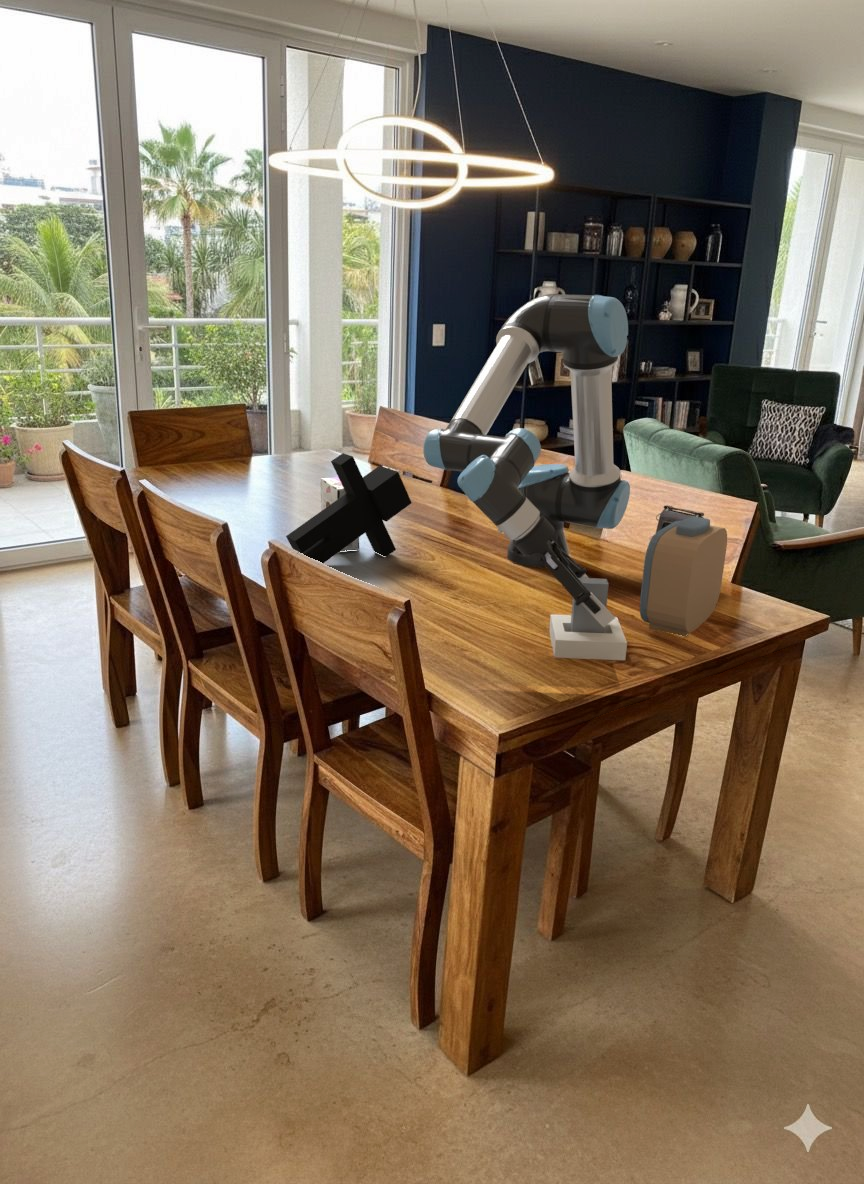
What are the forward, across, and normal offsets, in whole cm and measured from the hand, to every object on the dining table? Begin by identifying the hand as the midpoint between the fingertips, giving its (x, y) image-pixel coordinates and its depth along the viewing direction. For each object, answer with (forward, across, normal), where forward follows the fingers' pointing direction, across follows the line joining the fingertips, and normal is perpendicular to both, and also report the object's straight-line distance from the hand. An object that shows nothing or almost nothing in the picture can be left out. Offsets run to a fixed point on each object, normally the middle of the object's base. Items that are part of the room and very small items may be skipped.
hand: (605, 611), depth 169 cm
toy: (-34, -46, -44) cm, 72 cm away
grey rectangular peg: (+3, 0, -7) cm, 8 cm away
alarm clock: (+17, -13, +7) cm, 23 cm away
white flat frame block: (+3, 0, -7) cm, 8 cm away
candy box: (-37, -59, -47) cm, 84 cm away
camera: (+20, -34, +10) cm, 41 cm away
